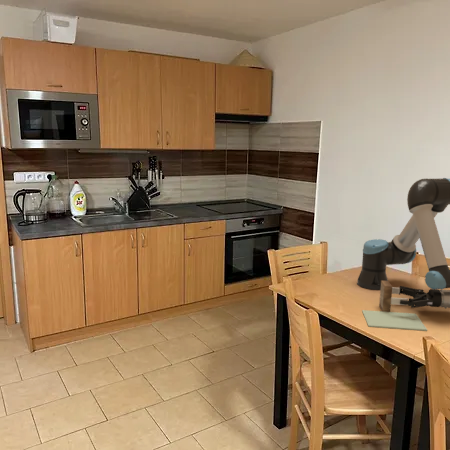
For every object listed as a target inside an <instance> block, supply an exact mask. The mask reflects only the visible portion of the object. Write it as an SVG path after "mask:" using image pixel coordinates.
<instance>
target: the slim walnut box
mask: <svg viewBox="0 0 450 450" xmlns="http://www.w3.org/2000/svg"><path fill="white" fill-rule="evenodd" d="M392 287H393V285H392V284H391V283H390V281H389V280H388V281H382V280H381V290H379V291H380V292H379V304H378V306H379V308H380V311H383V312H391V310H392V309H391V306H392V304H391V298H393V297H392V296H393V295H392Z"/></svg>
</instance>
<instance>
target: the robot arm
mask: <svg viewBox="0 0 450 450" xmlns="http://www.w3.org/2000/svg"><path fill="white" fill-rule="evenodd" d="M406 200H407V202H406V203H407V208H408V212H409V213H411V214H412V215H411V217H410V219H409V220H408V222H407V223H406V224H405V226H404V227H403V229H402V230H401V232H400V234H396V235H394V236H393V239H391V241H388V240H386V239H381V238H379V239H377V238H376V239H374V238H373V239H369V240H367V241H365V242H364V244H363V249H362V260H361V271H360V273H359V276H358V277H357V282H356V283H357V285H358V286H359V287H361V288H364V289H367V290H373V291H375V290H376V291H380V290H381V280H382V281H389V279H388V276H387V272H386V271H387V266H392V265H406V264H409V263H411V262H414V260H415V258H416V256H417V245H416V244H417V242H418V241H420V244H421V248H422V250H423V255H424V258H425V262H426V265H427V268H428V272H426V273H425V275H424V281H425V284H426V285H427V287H428V288H429V290H428V292H425V291H424V289H420V288H419V289H417V288H414V287H408V286H403V285H400V286H398V287H393V286H392V294H394V295H405V296H408V297H409V298H405V297H403V298H402V297H391V305H394V306H395V305H398V306H408V307H410V308H411V309H414V308H415V309H416V308H423V307H432V308H444V309H447V308H448V309H450V268H449V265H448V262H447V258H446V254H445V251H444V248H443V244H442V242H441V238H440V234H439V231H438V228H437V225H436V224H437V223H436V220H435V217H436V216H437V215H438V214H439V213H443V212H444V211H445V210H446V209H447V208H448V206H449V205H450V178H446V177H443V178H421V179H418V180H416V181H415V182H414V183H413V184H412V185H411V187H410V188H409V190H408V193H407V199H406ZM410 297H413V298H410Z"/></svg>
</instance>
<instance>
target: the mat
mask: <svg viewBox="0 0 450 450" xmlns="http://www.w3.org/2000/svg"><path fill="white" fill-rule="evenodd" d="M361 312H362V314H363V317H364V320H365V321H366V324H367V327H369V328H380V329H381V328H382V329H395V330H406V331H407V330H408V331H409V330H410V331H422V332H427V331H428V328H427V327H426V325H425V324H424V323H423V322H422V320H421V319H420V316H418V315H417V313H414V312H413V313H412V312H411V313H409V312H398V311H397V312H395V311H394V312H393V311H390V312H383V311H382V310H380V311H379V310H366V309H362V310H361Z"/></svg>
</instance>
